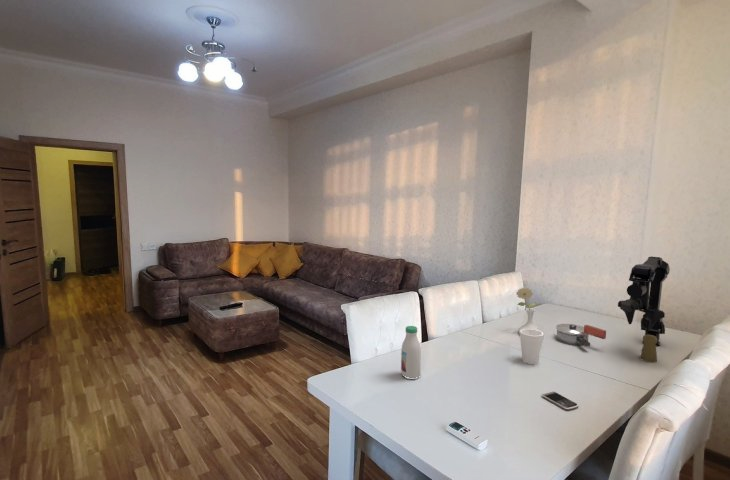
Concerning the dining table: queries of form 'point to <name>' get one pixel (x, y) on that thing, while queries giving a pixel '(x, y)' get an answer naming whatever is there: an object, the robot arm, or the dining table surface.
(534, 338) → the foam cup
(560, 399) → the cell phone
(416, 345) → the milk bottle
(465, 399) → the dining table surface
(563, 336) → the pot
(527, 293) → the flower in vase
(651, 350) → the cork
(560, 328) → the lid
